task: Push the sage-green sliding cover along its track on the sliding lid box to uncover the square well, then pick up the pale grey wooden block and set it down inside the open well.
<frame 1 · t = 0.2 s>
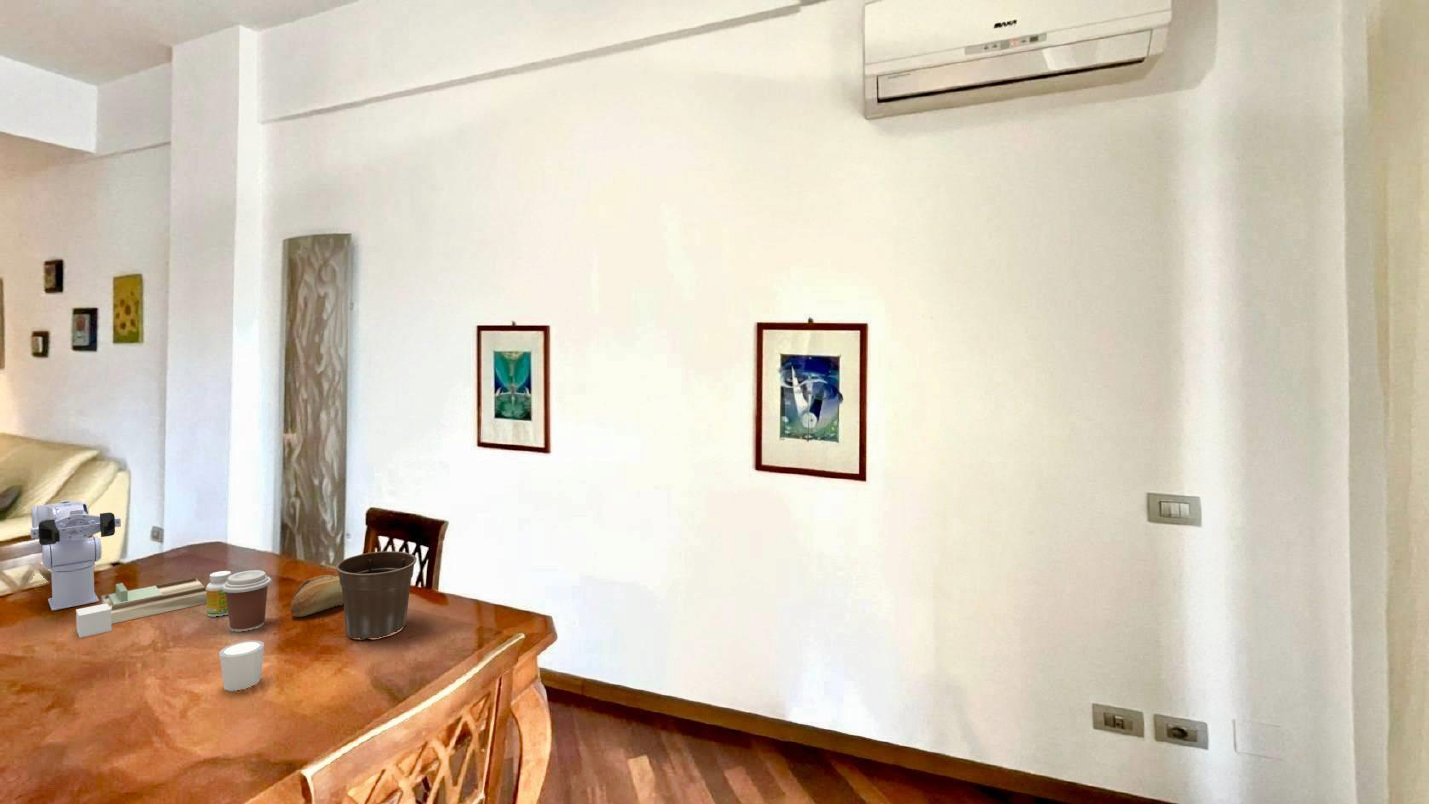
hand: (82, 533, 140), 21 cm above the table, tool horizontal, fingers open, 7 cm apart
cover: (135, 591, 150), point 4 cm above the table, slide at 0.0 cm
supplement bottle: (221, 613, 150), on the table
plant pot: (377, 631, 144), on the table
coffee cup: (247, 627, 143), on the table
white round tub: (242, 684, 119), on the table
bread roll: (322, 610, 154), on the table
sliding lid box: (156, 604, 154), on the table
grey block: (94, 631, 138), on the table
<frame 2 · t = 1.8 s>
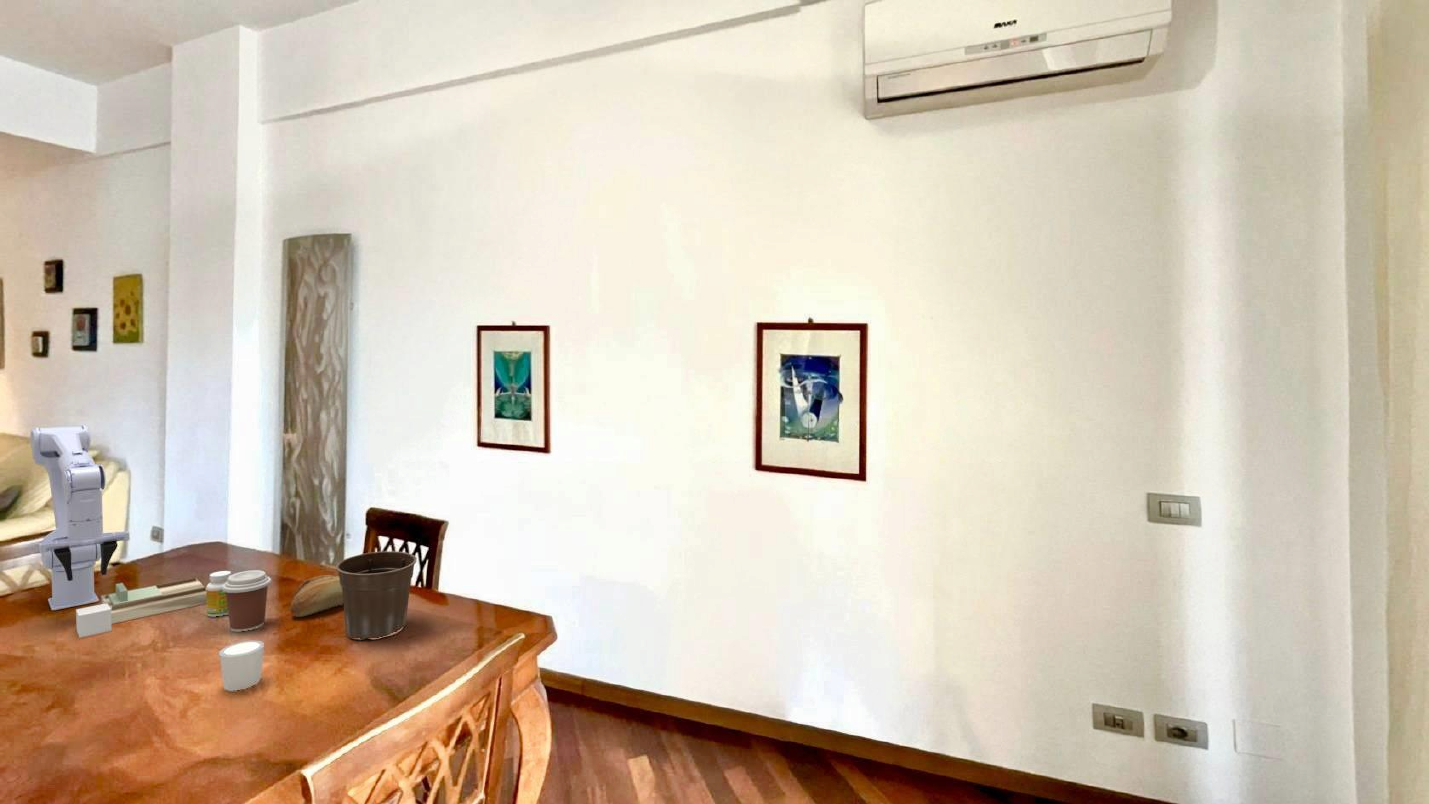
hand: (86, 576, 144), 10 cm above the table, tool pointing down, fingers open, 5 cm apart
nothing on the table moved.
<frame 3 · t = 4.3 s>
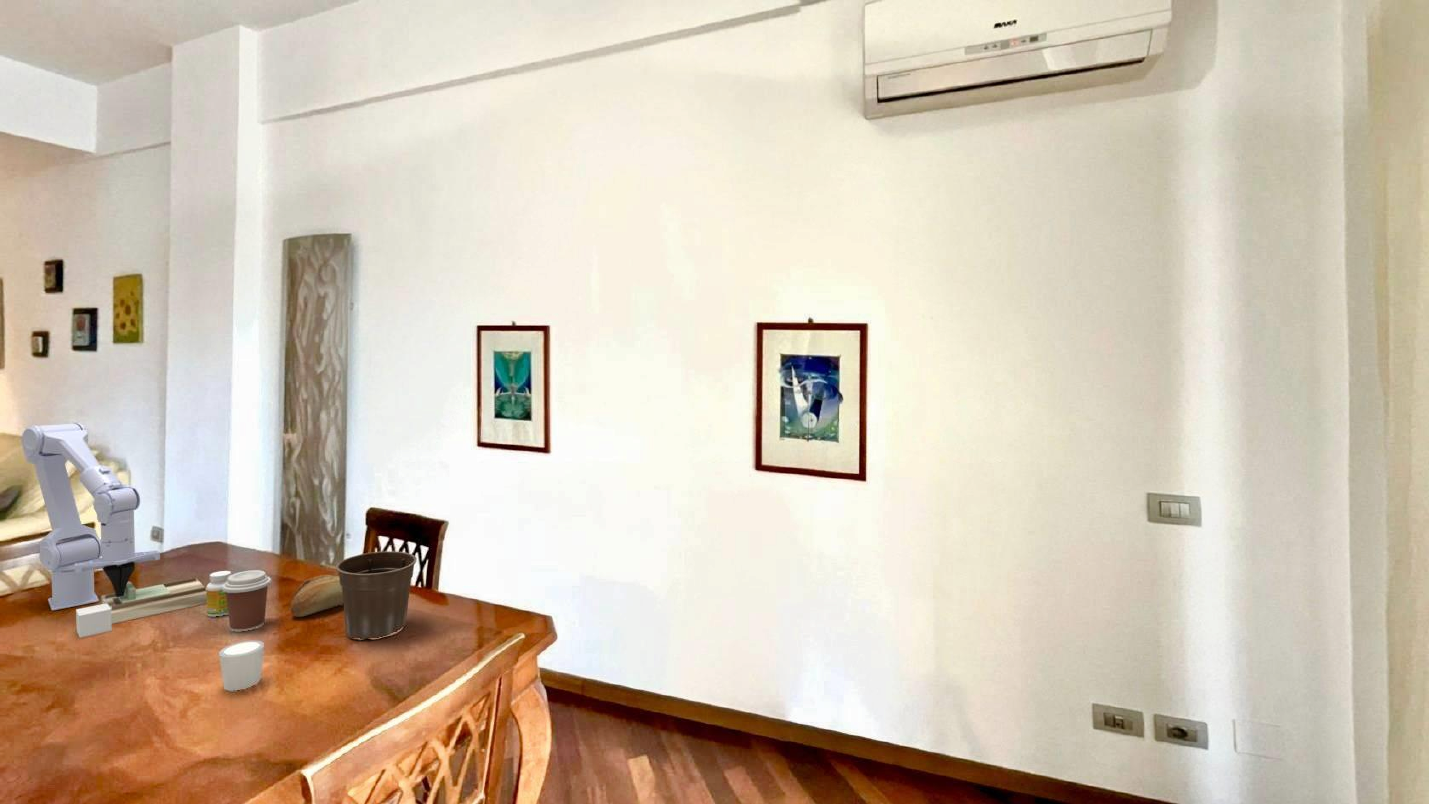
hand: (119, 595, 148), 4 cm above the table, tool pointing down, fingers closed
cover: (143, 589, 152), point 4 cm above the table, slide at 1.4 cm, touching gripper
everything else where it was.
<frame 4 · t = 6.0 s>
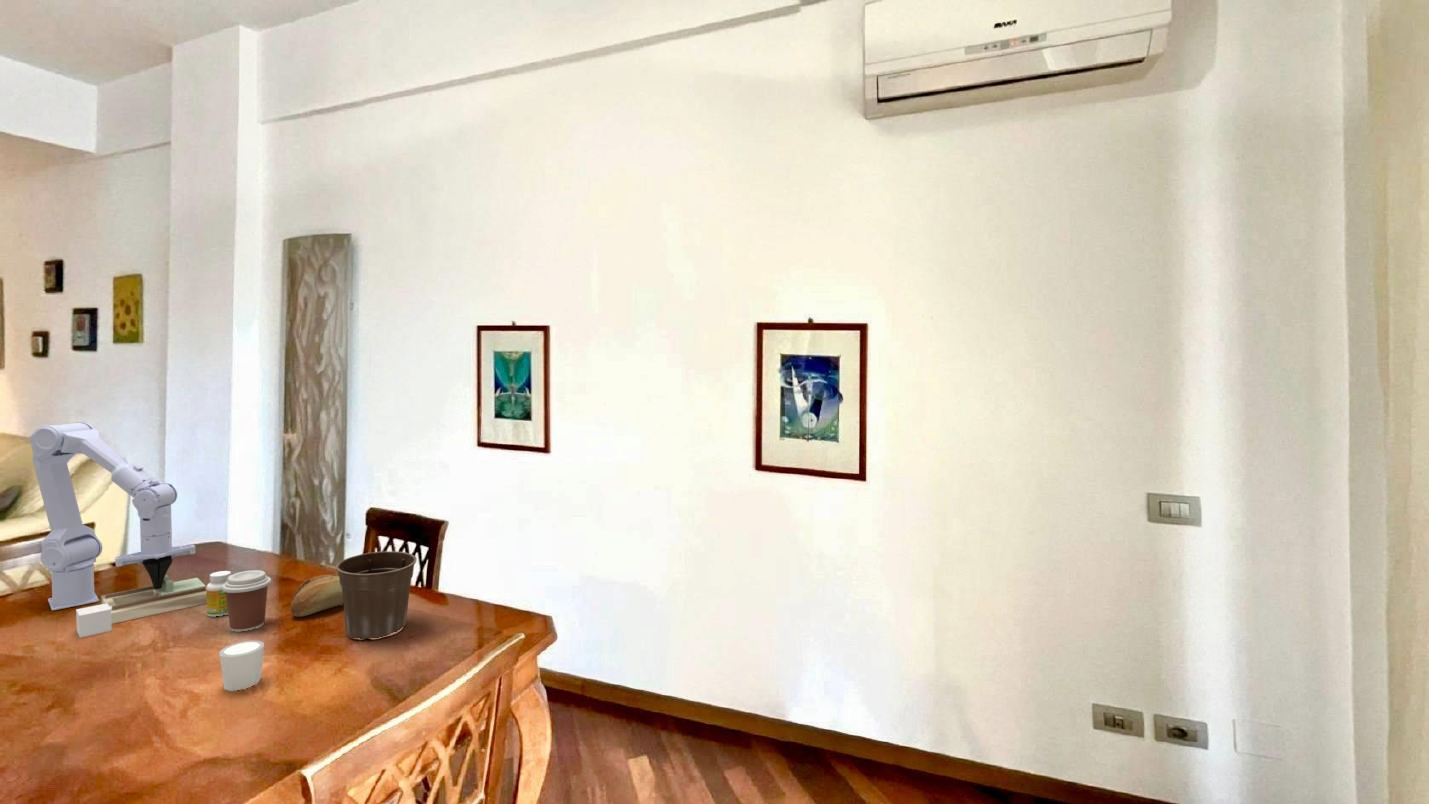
hand: (157, 588, 154), 4 cm above the table, tool pointing down, fingers closed
cover: (180, 582, 157), point 4 cm above the table, slide at 8.2 cm, touching gripper
everything else where it was.
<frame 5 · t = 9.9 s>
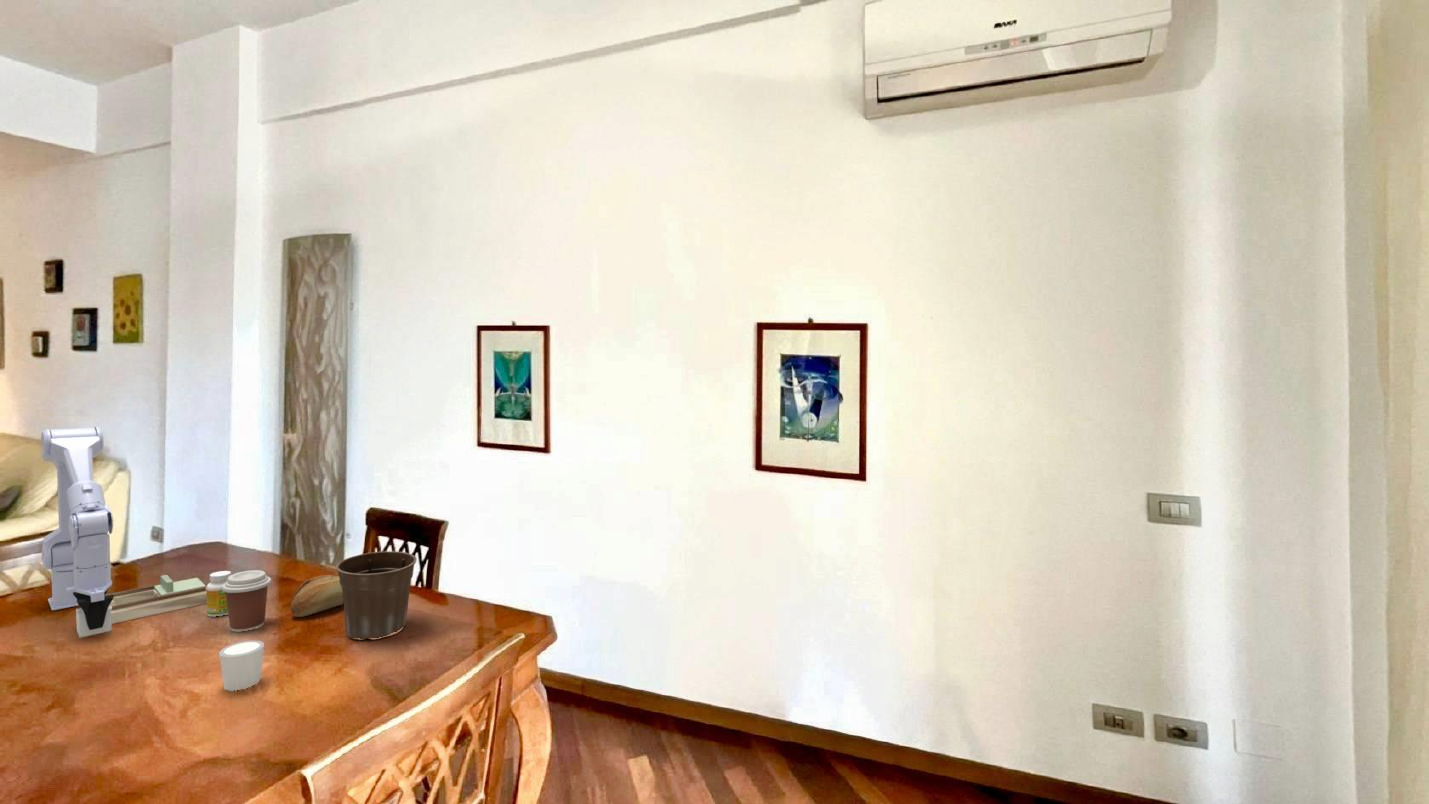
hand: (94, 624, 138), 1 cm above the table, tool pointing down, fingers closed on grey block, 5 cm apart
cover: (180, 582, 157), point 4 cm above the table, slide at 8.2 cm
grey block: (94, 630, 138), on the table, touching gripper
everything else where it was.
when the fingers open (3 cm above the table, at t = 14.2 s): grey block drops 1 cm, resting in sliding lid box.
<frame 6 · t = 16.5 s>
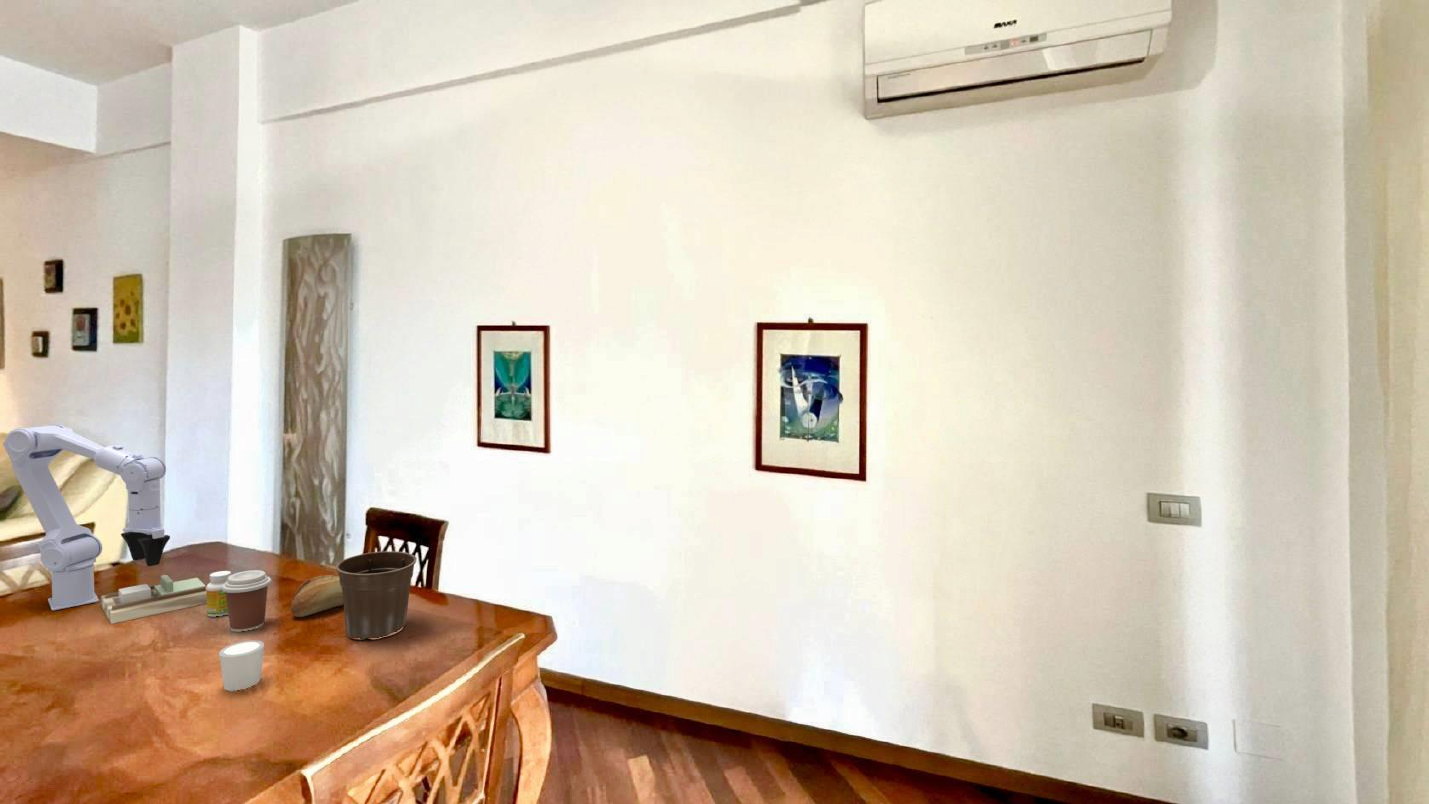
hand: (146, 562, 153), 10 cm above the table, tool pointing down, fingers open, 7 cm apart
grey block: (135, 609, 151), resting in sliding lid box
everything else where it was.
at the end: cover slide at 8.2 cm; grey block 0.2 cm from the target spot, resting in sliding lid box; grey block tilted 0° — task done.
